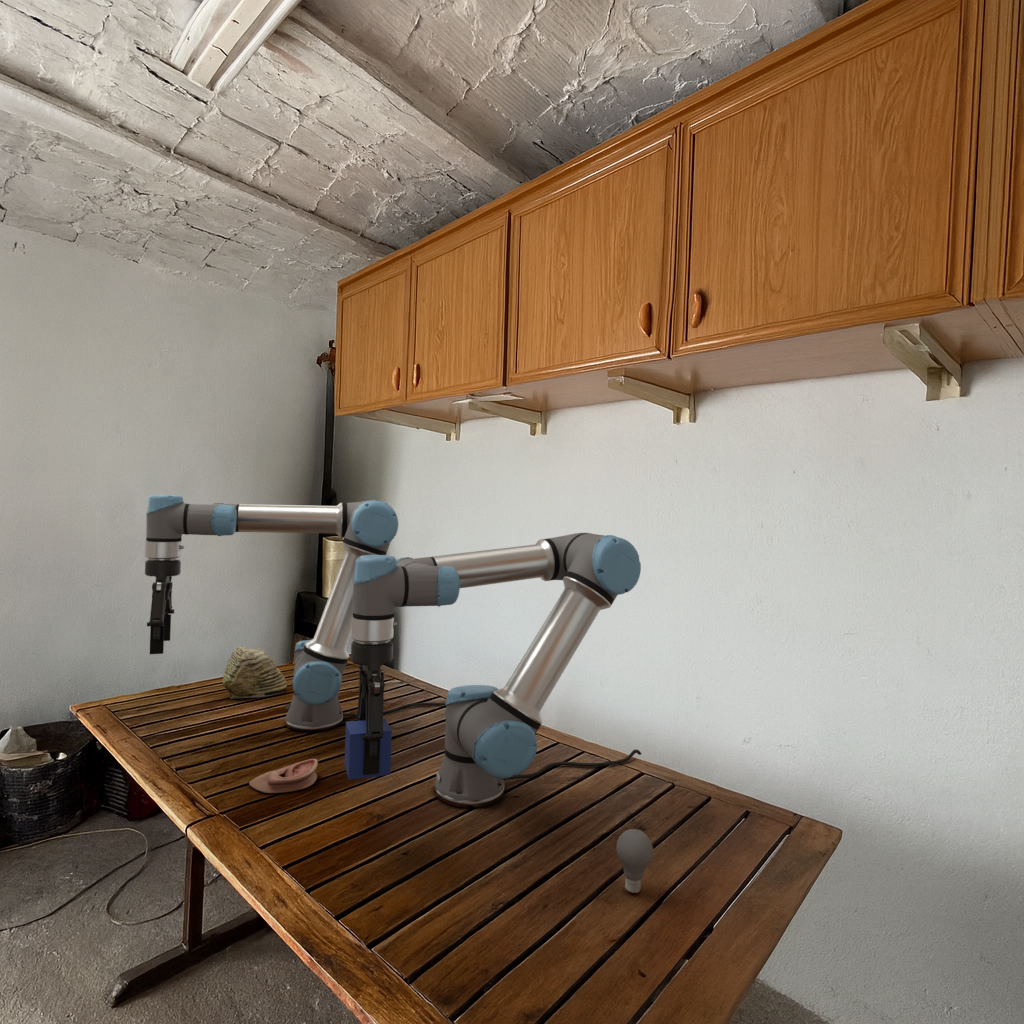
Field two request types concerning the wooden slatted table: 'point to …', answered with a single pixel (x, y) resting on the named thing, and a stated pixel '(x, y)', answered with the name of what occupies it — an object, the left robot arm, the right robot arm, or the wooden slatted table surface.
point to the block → (356, 750)
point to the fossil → (252, 674)
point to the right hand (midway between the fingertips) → (368, 764)
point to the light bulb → (634, 857)
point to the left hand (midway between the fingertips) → (160, 647)
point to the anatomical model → (287, 778)
